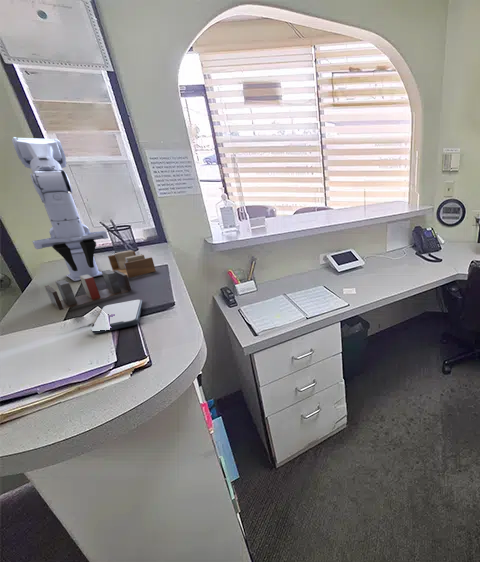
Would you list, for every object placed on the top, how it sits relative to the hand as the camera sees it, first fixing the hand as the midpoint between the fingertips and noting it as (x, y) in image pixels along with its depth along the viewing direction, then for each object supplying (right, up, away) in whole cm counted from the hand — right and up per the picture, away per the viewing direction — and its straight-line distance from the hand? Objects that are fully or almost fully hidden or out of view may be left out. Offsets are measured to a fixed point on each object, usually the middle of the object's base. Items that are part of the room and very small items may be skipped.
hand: (83, 268), depth 86 cm
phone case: (+16, -13, -7) cm, 22 cm away
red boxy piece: (0, -8, +3) cm, 8 cm away
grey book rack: (0, -9, +3) cm, 9 cm away
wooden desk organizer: (-6, 0, +25) cm, 26 cm away
